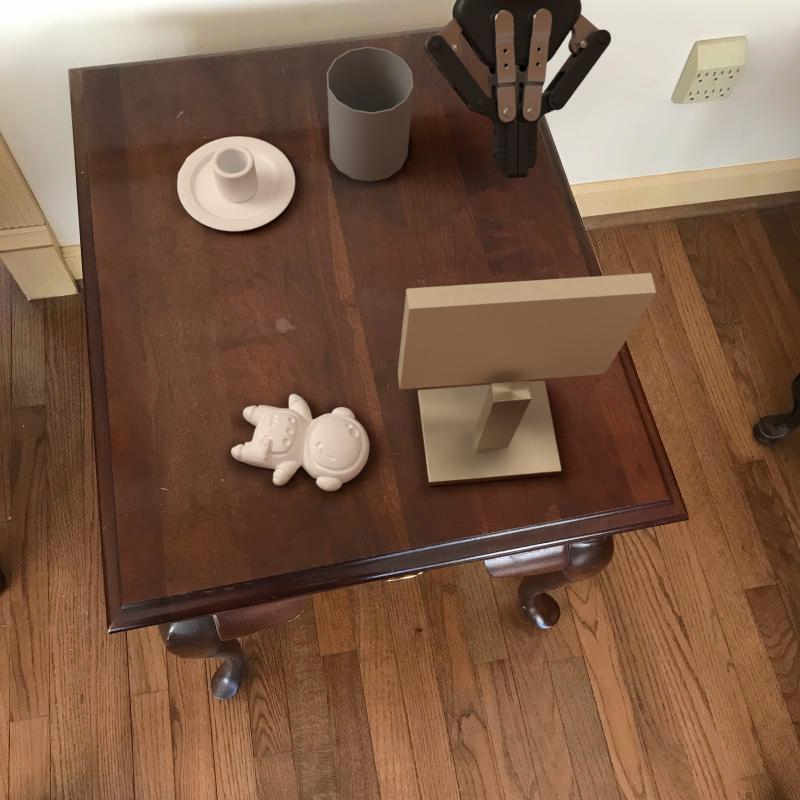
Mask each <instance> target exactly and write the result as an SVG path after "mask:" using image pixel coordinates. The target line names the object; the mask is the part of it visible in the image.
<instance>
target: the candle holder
mask: <svg viewBox="0 0 800 800" xmlns="http://www.w3.org/2000/svg"><path fill="white" fill-rule="evenodd" d="M289 160H290V159H288V157H287V156H286V155H285V154H284V153H283V152H282V151H281V150H280V149H278V147H276V146H274V145H273V144H271V143H269V142H267V141H265V140H262V139H260V138H256V137H251V136H240V135H239V136H228V137H222V138H218V139H215V140H213V141H209V142H208V143H206V144H203V145H202V146H200V147H199V148H197V149H195V150H194V151H193V152H192V153H190V154H189V156H187V157H186V159H185V161H184V162H183V164H182V166H181V168H180V170H179V171H178V173H177V181H176V182H177V183H176V184H177V185H176V186H177V194H178V198H179V200H180V203H181V205H182V206H183V209H184V210H185V211H186V212H187V213H188V214H189V215H190V216H191V218H193V219H195V220H196V221H197V222H199V223H200V224H202V225H205V226H207V227H209V228H211V229H214V230H218V231H219V230H220V231H225V232H242V231H243V232H245V231H250V230H253V229H257V228H259V227H262V226H264V225H267V224H268V223H270V222H272V221H273V220H275V219H276V218H277V217H279V216H280V215H281V214H282V213H283V212H284V211H285V209H286V208H287V207H288V205H289V204H290V202H291V200H292V198H293V196H294V193H295V188H296V175H295V172H294V168H293V166H292V164H291V162H290V161H289Z"/></svg>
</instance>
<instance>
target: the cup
mask: <svg viewBox="0 0 800 800" xmlns="http://www.w3.org/2000/svg"><path fill="white" fill-rule="evenodd" d="M326 86H327V112H328V113H327V114H328V135H329V136H328V139H329V157H330V160H331V161H332V163H333V164H334V166H335V167H336V169H337V170H338V171H339V172H341V173H343V174H344V175H346V176H348V177H349V178H350V179H352V180H357V181H364V182H370V183H371V182H376V181H380V180H385V179H389V178H390V177H391V176H393V175H394V174H396V173H397V172H398V171H400V170H401V169H402V168H403V165H404V163H405V162H406V160H407V158H408V153H409V142H410V131H411V119H412V107H413V94H414V79H413V71H412V70H411V68H410V67H409V65H408V64H407V62H406V61H405V60H404V59H403V58H402V57H400V56H399V55H397V54H395V53H394V52H392V51H390V50H388V49H385V48H379V47H372V46H363V47H359V48H354V49H349V50H347V51H345V52H344V53H342V54H341V55H338V57H336V58H334V60H333V61H332V63H331V65H330V67H328V70H327V72H326Z"/></svg>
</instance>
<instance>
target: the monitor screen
mask: <svg viewBox="0 0 800 800" xmlns="http://www.w3.org/2000/svg"><path fill="white" fill-rule="evenodd" d="M655 295H657V289H656V285H655V282H654V278H653V275H652V273H651V272H645V273H644V272H642V273H629V274H627V273H626V274H615V275H611V274H610V275H599V276H598V275H597V276H582V277H581V276H580V277H566V278H552V279H538V280H537V279H536V280H535V279H534V280H519V281H518V280H517V281H504V282H503V281H502V282H489V283H472V284H458V285H440V286H425V287H409V288H406V290H405V300H404V309H403V317H402V318H403V319H402V328H401V335H400V337H401V338H400V347H399V355H398V356H399V357H398V364H397V365H398V366H397V378H398V379H397V380H398V387H399V388H398V389H399V390H409V389H425V388H435V387H437V388H438V387H450V386H451V387H452V386H465V385H477V384H478V385H479V384H491V383H502V382H516V381H531V380H542V379H557V378H570V377H571V378H572V377H582V376H583V377H585V376H596V375H597V376H598V375H605V374H606V373H607V371H608V370H609V368H610V366H611V365H612V363H613V361H614V360H615V359H616V357H617V355H618V353H619V352H620V350H621V349H622V347H623V346H624V344H625V343H626V342H627V339H628V338H629V336H630V335H631V333H632V332H633V330H634V329H635V327H636V326H637V324H638V322H639V321H640V320H641V317H642V316H643V315H644V313H645V311H646V309H647V308H648V306H649V305H650V303H651V302H652V300H653V298H654V297H655Z"/></svg>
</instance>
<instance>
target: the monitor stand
mask: <svg viewBox="0 0 800 800" xmlns="http://www.w3.org/2000/svg"><path fill="white" fill-rule="evenodd" d="M547 390H548V389H547V384H546V381H545V380H533V381H531V380H530V381H529V380H518V381H505V382H491V383H489V384H478V385H477V384H476V385H463V386H451V387H450V386H449V387H440V388H439V387H437V388H422V389H418V390H417V393H416V397H417V407H418V415H419V421H420V422H419V423H420V432H421V439H422V448H423V455H424V464H425V465H424V466H425V471H426V481H427V486H428V487H435V486H448V485H459V484H472V483H481V482H493V481H495V482H497V481H505V480H506V481H507V480H518V479H530V478H542V477H552V476H553V477H554V476H560V474H561V473H562V471H563V469H562V463H561V459H560V454H559V447H558V443H557V437H556V433H555V426H554V423H553V422H554V421H553V416H552V412H551V405H550V401H549V395H548V391H547Z"/></svg>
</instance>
